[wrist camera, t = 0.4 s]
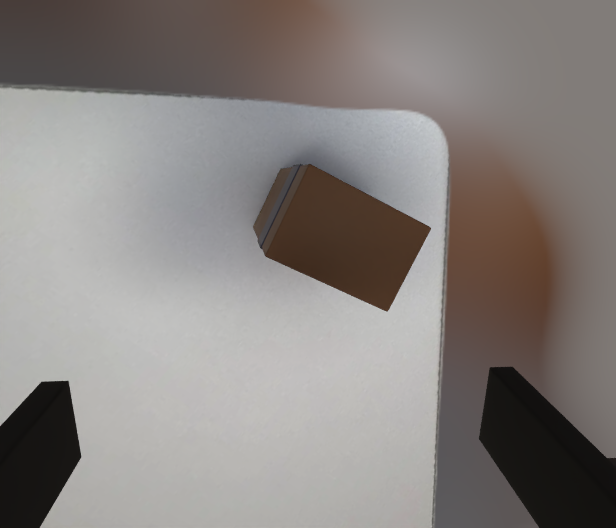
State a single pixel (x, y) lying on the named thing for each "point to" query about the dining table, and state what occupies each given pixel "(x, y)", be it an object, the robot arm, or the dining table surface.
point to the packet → (338, 234)
